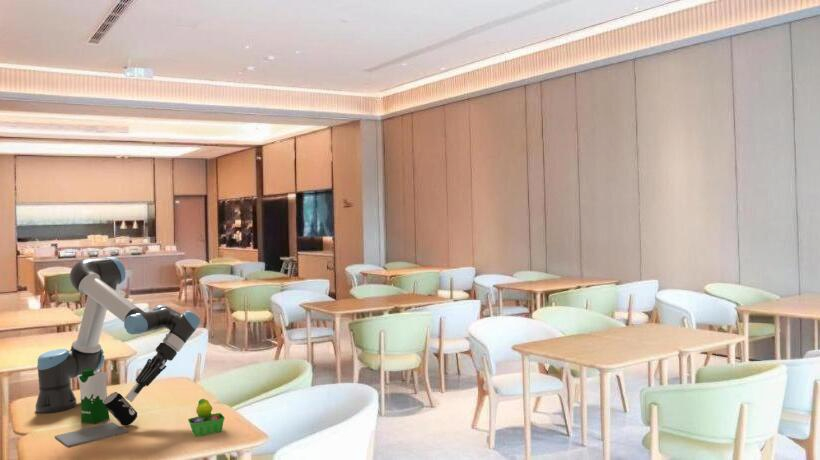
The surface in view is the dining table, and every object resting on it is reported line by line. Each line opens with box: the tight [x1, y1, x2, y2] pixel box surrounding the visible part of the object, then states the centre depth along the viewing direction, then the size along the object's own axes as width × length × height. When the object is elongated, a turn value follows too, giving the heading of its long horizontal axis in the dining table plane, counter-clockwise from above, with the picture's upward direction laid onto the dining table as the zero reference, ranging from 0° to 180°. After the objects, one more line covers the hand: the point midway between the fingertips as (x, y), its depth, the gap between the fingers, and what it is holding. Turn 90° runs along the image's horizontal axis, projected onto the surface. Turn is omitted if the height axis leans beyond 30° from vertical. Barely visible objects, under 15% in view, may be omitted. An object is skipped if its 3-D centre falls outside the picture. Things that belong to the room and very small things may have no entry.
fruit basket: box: [187, 398, 226, 437], centre depth 240 cm, size 11×9×11 cm
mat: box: [54, 421, 129, 448], centre depth 244 cm, size 16×20×1 cm
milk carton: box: [76, 369, 111, 425], centre depth 262 cm, size 9×9×20 cm
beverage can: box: [103, 391, 138, 427], centre depth 251 cm, size 7×7×12 cm
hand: (128, 399), depth 252 cm, fingers closed
